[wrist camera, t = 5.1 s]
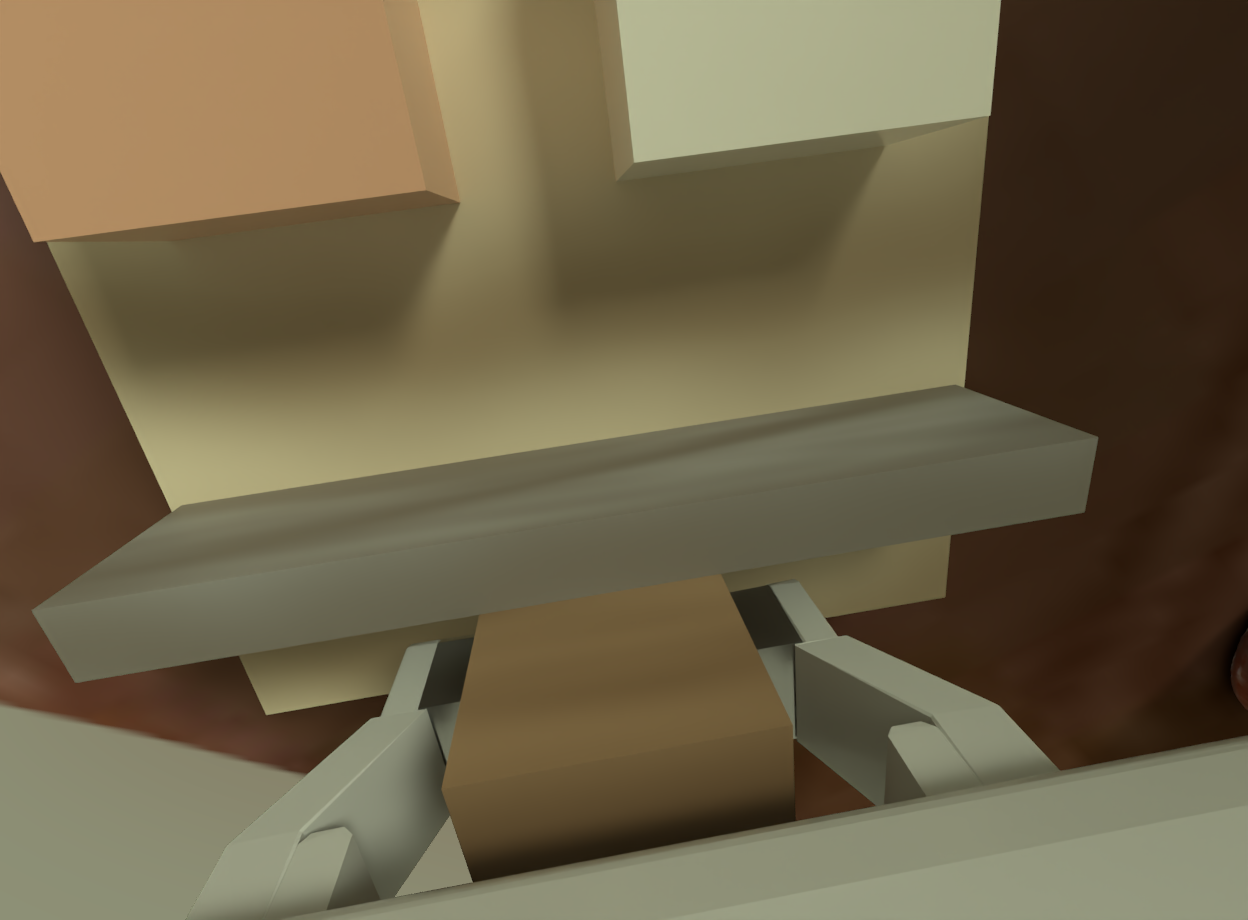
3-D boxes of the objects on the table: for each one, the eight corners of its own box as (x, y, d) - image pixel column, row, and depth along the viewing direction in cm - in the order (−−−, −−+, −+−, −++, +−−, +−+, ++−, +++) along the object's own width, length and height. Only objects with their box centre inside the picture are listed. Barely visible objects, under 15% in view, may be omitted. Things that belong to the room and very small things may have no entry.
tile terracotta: (23, -137, 7) (-228, -310, 5) (381, -172, 8) (300, -354, 5) (170, 241, 9) (33, 242, 7) (460, 202, 9) (426, 189, 7)
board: (-30, -217, 9) (-245, -383, 6) (925, -308, 9) (1043, -486, 7) (312, 639, 15) (266, 714, 12) (886, 543, 15) (944, 597, 13)
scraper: (182, 504, 10) (-251, 807, 5) (955, 384, 11) (1348, 529, 6) (272, 704, 12) (28, 1097, 7) (938, 589, 13) (1225, 855, 7)
